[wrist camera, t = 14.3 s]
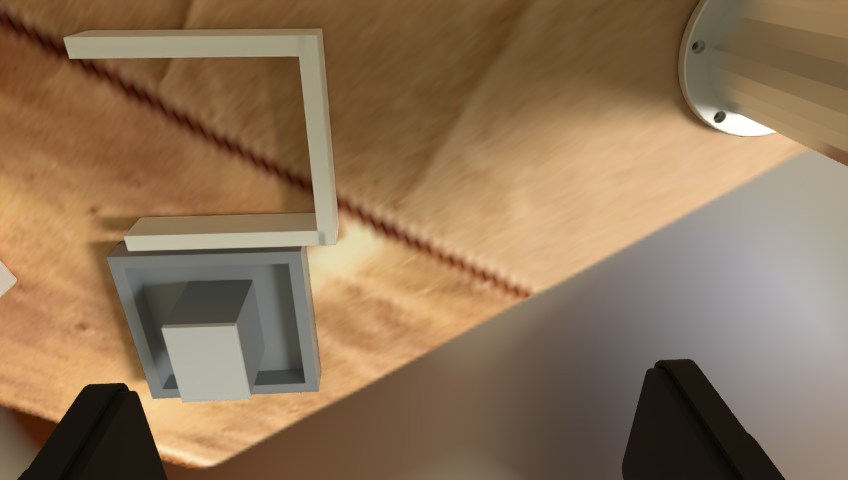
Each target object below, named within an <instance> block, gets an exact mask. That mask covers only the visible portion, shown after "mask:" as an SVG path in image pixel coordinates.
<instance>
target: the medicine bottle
mask: <svg viewBox="0 0 848 480" xmlns="http://www.w3.org/2000/svg"><path fill="white" fill-rule="evenodd" d="M16 282H17V279H16V277H15V276H14V275H13V274H12V273H11V271H10V270H9V269H8V268H7V267H6V266H5V265H4V263H3V262H2V261H1V260H0V297H1V296H2V295H3V294H4V293H5V292H6V291H8V290H9V289H10V288H11V287H12V286H13V285H14V284H15V283H16Z"/></svg>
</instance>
